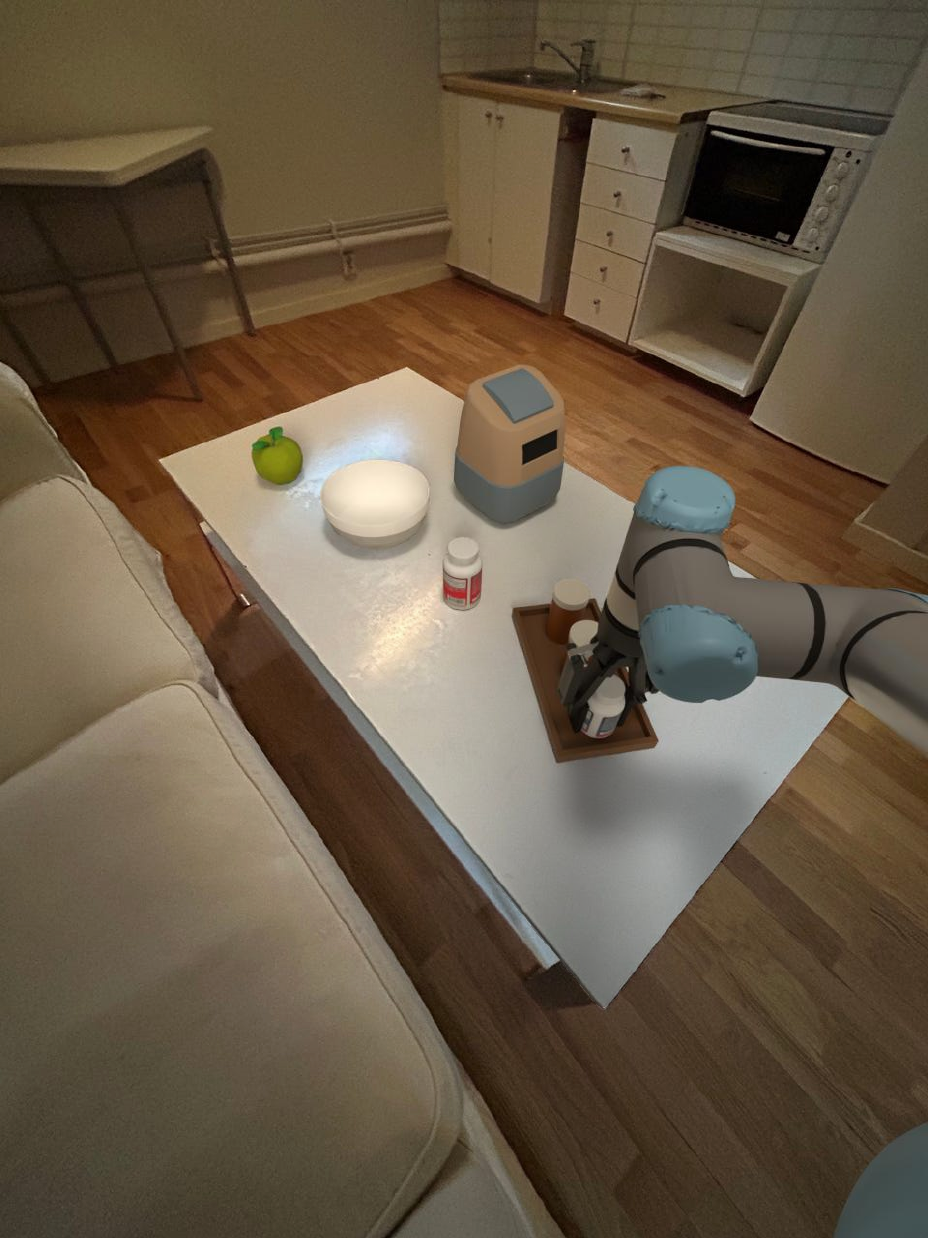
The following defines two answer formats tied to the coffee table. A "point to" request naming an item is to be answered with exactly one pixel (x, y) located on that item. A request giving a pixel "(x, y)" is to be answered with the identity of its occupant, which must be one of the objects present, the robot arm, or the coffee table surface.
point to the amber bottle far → (566, 608)
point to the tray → (545, 679)
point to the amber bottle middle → (581, 636)
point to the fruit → (277, 457)
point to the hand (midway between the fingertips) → (595, 720)
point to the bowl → (376, 502)
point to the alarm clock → (510, 443)
